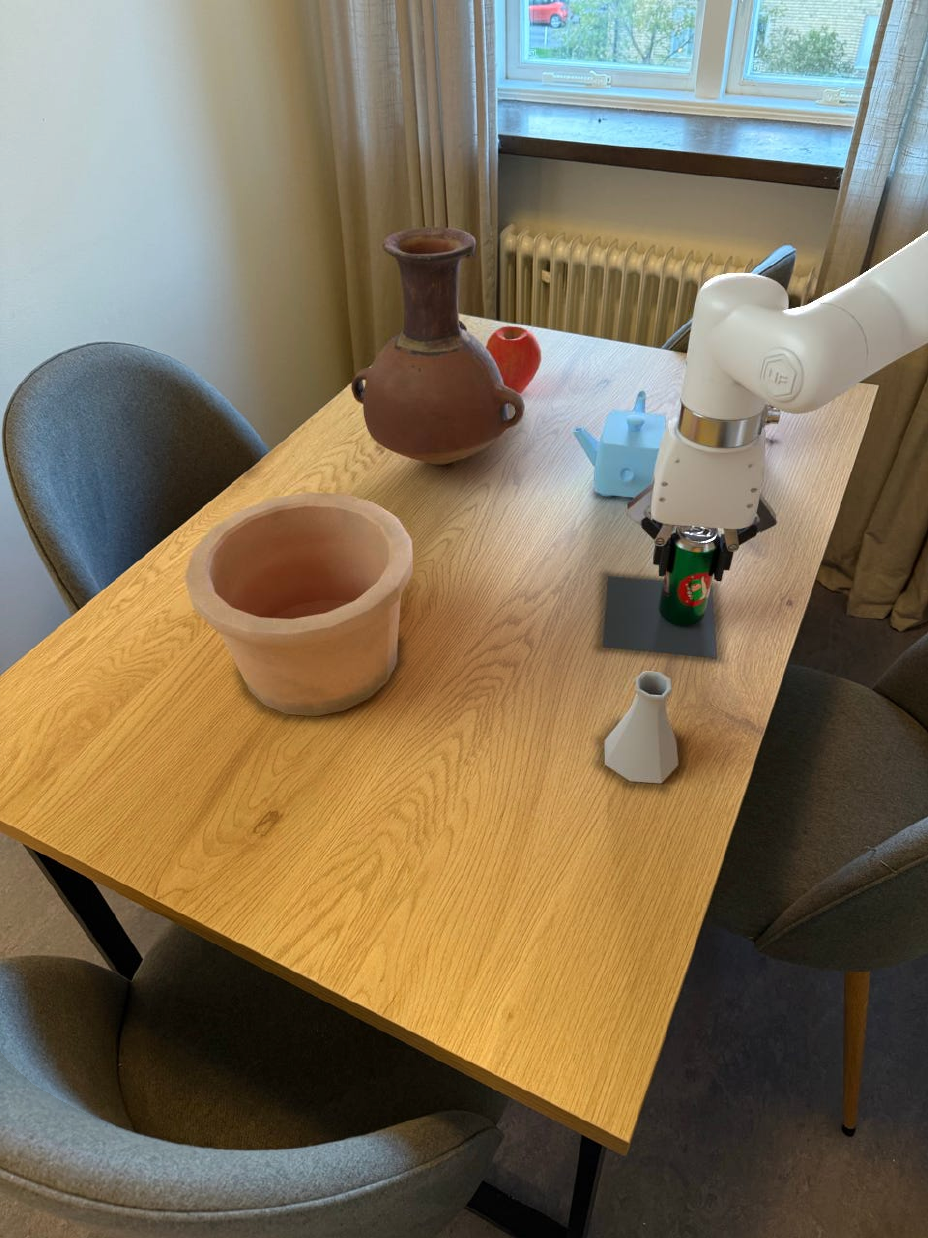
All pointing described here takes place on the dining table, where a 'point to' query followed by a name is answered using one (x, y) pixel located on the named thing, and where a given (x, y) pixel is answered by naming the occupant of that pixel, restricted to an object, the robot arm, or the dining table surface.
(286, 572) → the pottery
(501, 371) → the apple
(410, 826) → the dining table surface
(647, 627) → the mat
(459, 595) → the dining table surface
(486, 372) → the vase
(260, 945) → the dining table surface
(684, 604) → the soda can
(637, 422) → the teapot
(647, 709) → the flask
